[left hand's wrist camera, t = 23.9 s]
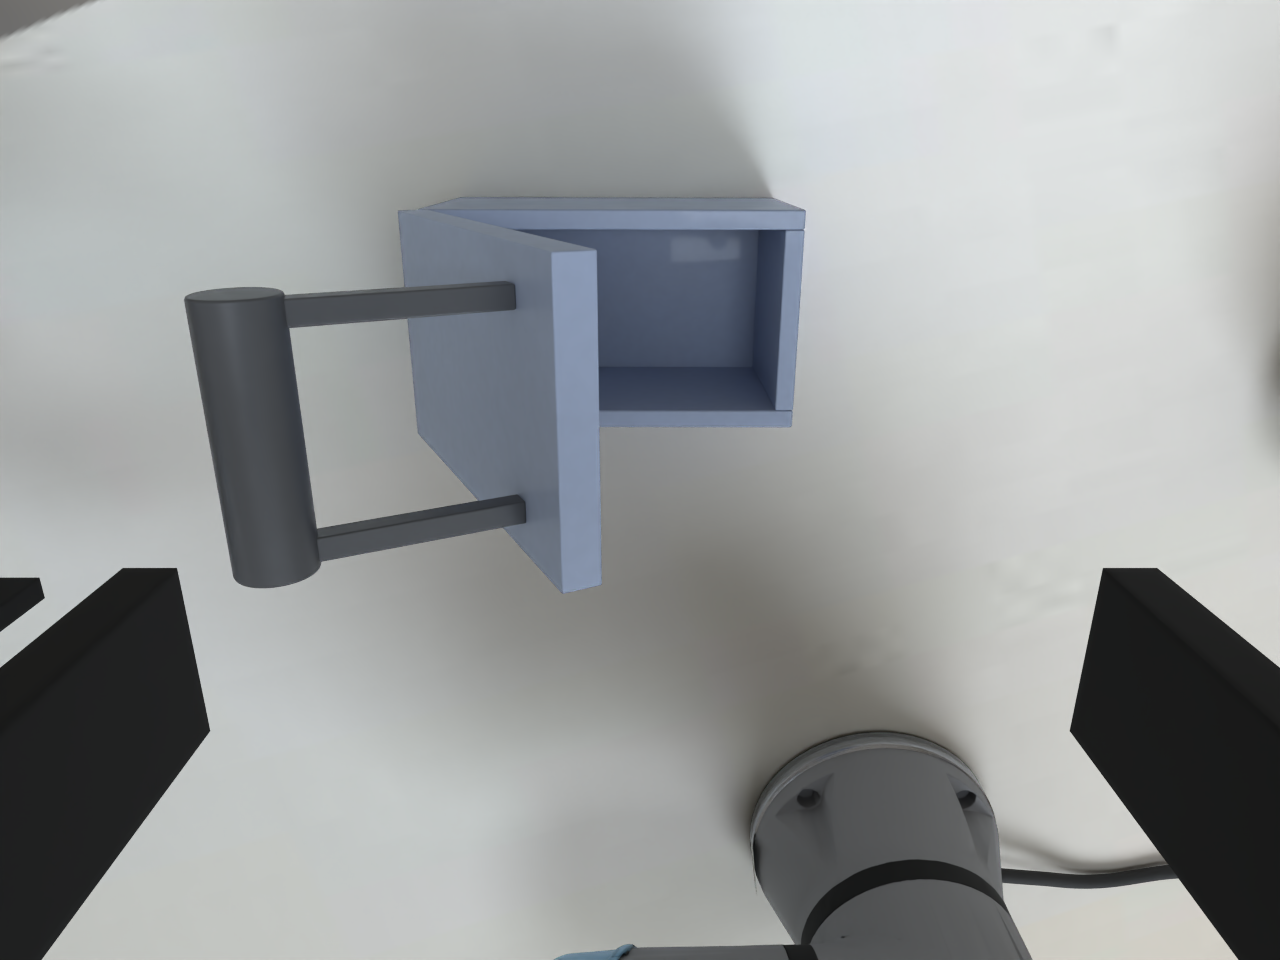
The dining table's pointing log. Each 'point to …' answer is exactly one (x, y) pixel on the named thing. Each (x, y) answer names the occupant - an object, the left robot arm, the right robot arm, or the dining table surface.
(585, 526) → the lid
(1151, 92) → the dining table surface
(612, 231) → the chest
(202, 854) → the dining table surface
